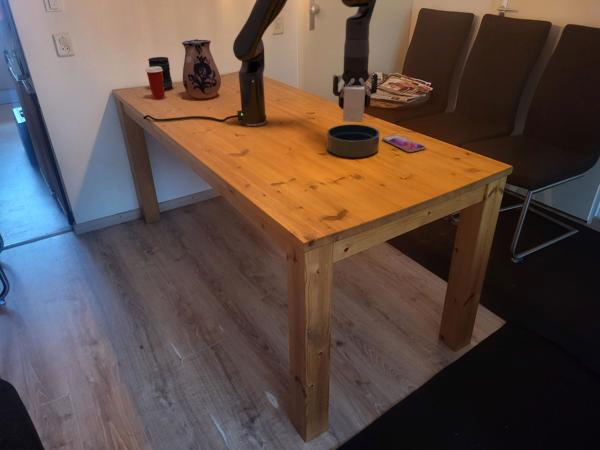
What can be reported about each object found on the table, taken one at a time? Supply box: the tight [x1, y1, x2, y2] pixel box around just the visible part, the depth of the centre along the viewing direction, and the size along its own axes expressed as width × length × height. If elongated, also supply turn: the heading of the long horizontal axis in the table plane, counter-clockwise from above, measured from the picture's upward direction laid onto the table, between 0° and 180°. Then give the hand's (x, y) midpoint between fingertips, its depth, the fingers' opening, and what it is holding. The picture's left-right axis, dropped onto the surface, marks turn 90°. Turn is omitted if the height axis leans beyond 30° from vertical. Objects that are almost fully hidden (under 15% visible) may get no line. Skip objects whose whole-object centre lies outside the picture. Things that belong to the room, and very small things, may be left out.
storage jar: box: [147, 56, 174, 92], centre depth 228 cm, size 10×10×15 cm
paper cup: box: [145, 66, 166, 101], centre depth 213 cm, size 8×8×14 cm
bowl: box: [326, 123, 381, 159], centre depth 151 cm, size 17×17×6 cm
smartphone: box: [381, 134, 426, 153], centre depth 155 cm, size 7×1×15 cm
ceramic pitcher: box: [181, 38, 222, 100], centre depth 212 cm, size 18×21×25 cm
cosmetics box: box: [342, 85, 366, 123], centre depth 144 cm, size 10×6×10 cm, turn 171°
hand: (354, 107), depth 145 cm, fingers closed on cosmetics box, 7 cm apart
